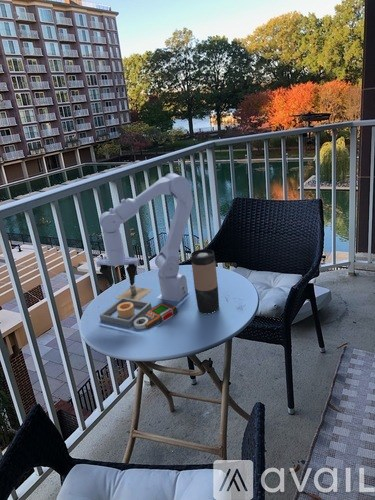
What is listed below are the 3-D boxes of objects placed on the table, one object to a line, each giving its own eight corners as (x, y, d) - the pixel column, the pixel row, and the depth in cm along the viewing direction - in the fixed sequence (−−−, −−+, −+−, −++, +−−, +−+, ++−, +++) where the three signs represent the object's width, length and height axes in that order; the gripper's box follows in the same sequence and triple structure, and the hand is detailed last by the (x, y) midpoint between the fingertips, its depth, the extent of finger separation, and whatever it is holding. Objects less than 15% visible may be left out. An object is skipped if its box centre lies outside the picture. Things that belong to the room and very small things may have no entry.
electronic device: (129, 320, 118) (164, 299, 126) (131, 328, 119) (166, 307, 128) (141, 328, 113) (177, 305, 122) (143, 336, 114) (179, 313, 123)
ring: (134, 316, 123) (132, 309, 122) (118, 319, 122) (116, 311, 121) (135, 306, 129) (133, 298, 128) (119, 308, 129) (118, 301, 128)
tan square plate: (152, 291, 140) (151, 281, 138) (137, 304, 132) (135, 293, 130) (131, 287, 145) (129, 278, 143) (115, 299, 137) (113, 290, 135)
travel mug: (224, 306, 123) (219, 251, 116) (210, 316, 118) (203, 260, 111) (207, 300, 128) (201, 247, 121) (192, 310, 123) (185, 255, 116)
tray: (151, 308, 127) (150, 302, 126) (130, 328, 117) (129, 321, 116) (123, 303, 133) (122, 297, 132) (101, 321, 123) (99, 315, 122)
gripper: (139, 242, 124) (145, 278, 129) (99, 244, 127) (107, 279, 132) (132, 250, 117) (139, 288, 122) (90, 252, 120) (99, 288, 125)
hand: (122, 284), depth 127 cm, fingers open, 7 cm apart
